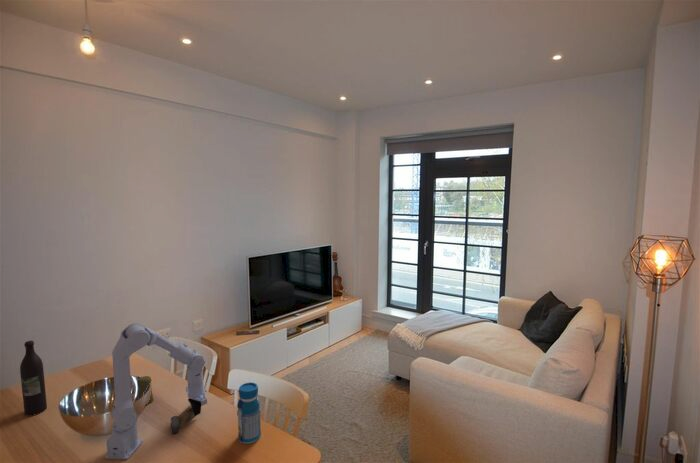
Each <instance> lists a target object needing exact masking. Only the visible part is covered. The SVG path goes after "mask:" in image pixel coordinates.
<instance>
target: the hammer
mask: <svg viewBox="0 0 700 463" xmlns="http://www.w3.org/2000/svg"><path fill="white" fill-rule="evenodd" d="M178 416H179V415H174V416H172V417H171V418H170V424H169V425H170V429H171V435H174V436H175V435H177V434H179V432H180V431H179V430H180V429H178Z"/></svg>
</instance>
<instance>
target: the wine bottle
mask: <svg viewBox="0 0 700 463" xmlns="http://www.w3.org/2000/svg"><path fill="white" fill-rule="evenodd" d="M34 345H35V341H34V340H27V341H25V342H24V348H25V355H24V357H23V359H22V360H21V363H20V366H19V374H20V383H21V391H22V401H23V403H22V404H23V411H24V412H23V413H24V415H25V416H27V415H32V416H35V415H34V414H36V415H38V414H37V413H39V414H41V413H43V412H45V411H46V410H47V407H48V403H47V393H46V383H45V382H46V381H45V372H44V363H43V360H42V359H41V357H40V356H39V355H38V354H37V352H35V347H34ZM45 409H46V410H45ZM44 410H45V411H44ZM42 411H43V412H42ZM40 412H41V413H40Z"/></svg>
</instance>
